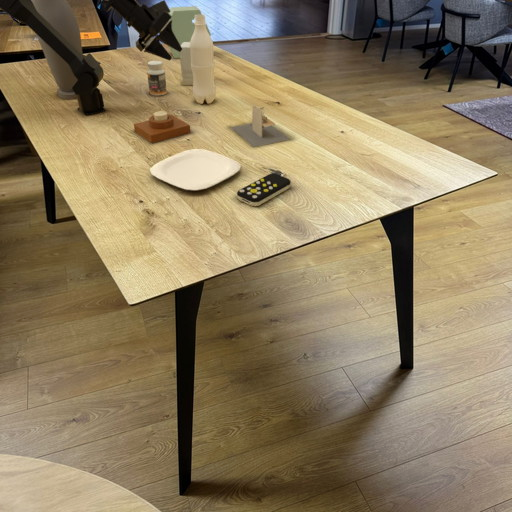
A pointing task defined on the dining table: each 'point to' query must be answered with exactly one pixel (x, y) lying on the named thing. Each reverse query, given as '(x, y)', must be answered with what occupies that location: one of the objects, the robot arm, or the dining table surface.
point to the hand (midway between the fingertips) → (175, 55)
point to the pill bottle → (156, 78)
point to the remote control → (263, 189)
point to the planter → (183, 25)
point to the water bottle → (202, 62)
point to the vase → (64, 21)
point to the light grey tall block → (186, 64)
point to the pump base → (161, 128)
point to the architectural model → (260, 130)
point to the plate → (195, 169)
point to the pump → (160, 116)
